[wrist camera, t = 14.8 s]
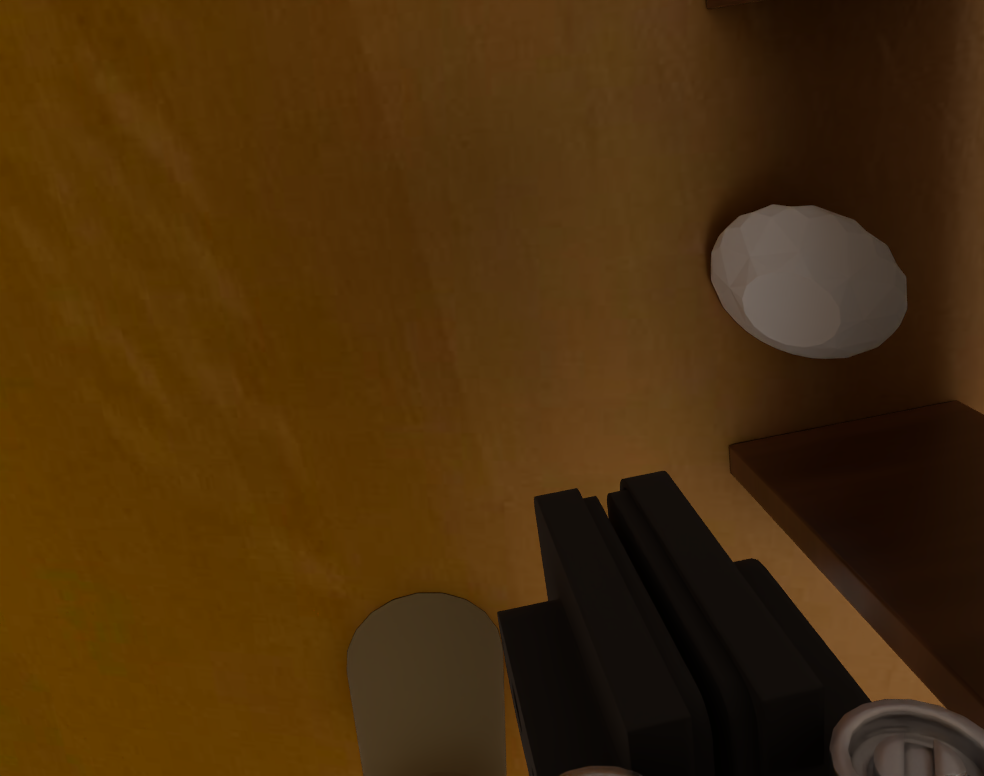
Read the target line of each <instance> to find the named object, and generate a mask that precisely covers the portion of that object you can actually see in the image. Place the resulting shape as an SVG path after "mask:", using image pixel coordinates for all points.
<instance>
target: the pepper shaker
mask: <svg viewBox="0 0 984 776" xmlns="http://www.w3.org/2000/svg"><path fill="white" fill-rule="evenodd" d="M347 675H348V681H349V688H350V694H351V700H352V706H353V713H354V719H355V725H356V732H357V738H358V744H359V750H360V757H361V763H362V769H363V775H364V776H506V744H505V707H504V671H503V647H502V643H501V640H500V636H499V633H498V629H497V628H496V626H495V625H494V624H493V622H492V621H491V620H490V618H489V617H488V616H487V614H486V613H485V612H484V611H482V610H481V609H479V608H478V607H476V606H475V605H473V604H472V603H470V602H469V601H467V600H465V599H462V598H458V597H455V596H451V595H447V594H444V593H417V594H413V595H409V596H406V597H402V598H399V599H395V600H392V601H391V602H389V603H387V604H386V605H384V606H382V607H381V608H379V609H377V610H376V611H374V612H372V613H371V614H370V615H369V616H368V618H367V619H366V620H365V621H364V622H363V623H362V624H361V625H360V626H359V628H358V629H357V630H356V632H355V634H354V636H353V639H352V641H351V643H350V646H349V648H348V651H347Z"/></svg>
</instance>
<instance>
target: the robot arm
mask: <svg viewBox="0 0 984 776" xmlns="http://www.w3.org/2000/svg"><path fill="white" fill-rule="evenodd" d="M534 506H535V514H536V520H537V527H538V534H539V541H540V548H541V554H542V561H543V568H544V575H545V582H546V589H547V595H548V601H547V602H542V603H537V604H533V605H528V606H523V607H518V608H514V609H509V610H504V611H499V612H497V614H498V622H499V628H500V634H501V639H502V645H503V651H504V656H505V662H506V667H507V673H508V678H509V683H510V688H511V693H512V698H513V703H514V708H515V713H516V718H517V723H518V727H519V732H520V736H521V741H522V745H523V749H524V754H525V758H526V762H527V767H528V771H529V776H984V729H982V728H981V727H979V726H978V725H976V724H975V723H973V722H972V721H971V720H969V719H968V718H966V717H964V716H962V715H960V714H957V713H955V712H953V711H950V710H948V709H946V708H943V707H941V706H938V705H934V704H929V703H925V702H920V701H916V700H909V699H884V700H879V701H874V702H871V701H870V699H869V698H868V697H867V695H866V694H865V693H864V692H863V690H862V689H861V688H860V687H859V685H858V684H857V683H856V682H855V680H854V679H853V678H852V676H851V675H850V674H849V673H848V671H847V670H846V669H845V668H844V666H843V665H842V664H841V663H840V661H839V660H838V659H837V657H836V656H835V655H834V654H833V652H832V651H831V650H830V649H829V647H828V646H827V645H826V644H825V642H824V641H823V640H822V638H821V637H820V636H819V635H818V633H817V632H816V631H815V630H814V628H813V627H812V626H811V625H810V623H809V622H808V621H807V620H806V618H805V617H804V616H803V614H802V613H801V612H800V611H799V609H798V608H797V607H796V606H795V604H794V603H793V602H792V601H791V599H790V598H789V597H788V595H787V594H786V593H785V592H784V590H783V589H782V588H781V587H780V585H779V584H778V583H777V582H776V580H775V579H774V578H773V576H772V575H771V574H770V573H769V571H768V570H767V569H766V568H765V567H764V566H763V565H762V564H761V563H760V562H759V561H758V560H756V559H752V558H751V559H746V560H741V561H737V562H732V560H731V559H730V558H729V556H728V555H727V553H726V552H725V551H724V549H723V548H722V547H721V545H720V544H719V543H718V541H717V540H716V538H715V537H714V536H713V534H712V533H711V532H710V530H709V529H708V528H707V526H706V525H705V523H704V522H703V521H702V519H701V518H700V517H699V515H698V514H697V513H696V511H695V510H694V508H693V507H692V506H691V504H690V503H689V502H688V500H687V499H686V498H685V496H684V495H683V493H682V492H681V491H680V489H679V488H678V487H677V485H676V484H675V483H674V481H673V480H672V478H671V477H670V476H669V474H668V473H667V472H666V471H660V472H655V473H650V474H645V475H640V476H635V477H630V478H625V479H622V480H621V482H620V491H618V492H613V493H608V495H607V507H608V516H609V519H608V517H607V515H606V513H605V511H604V509H603V507H602V505H601V504H600V502H599V500H598V498H597V497H596V496H593V497H588V498H582V496H581V494H580V492H579V490H578V489H577V488H575V489H570V490H565V491H560V492H555V493H550V494H545V495H540V496H535V497H534Z"/></svg>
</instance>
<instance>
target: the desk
mask: <svg viewBox="0 0 984 776" xmlns="http://www.w3.org/2000/svg"><path fill="white" fill-rule="evenodd" d="M757 1H763V0H706V6H707V9H713V8H719V7H725V6H732V5H738V4H744V3H751V2H757ZM729 449H730V469H731V474H732V475H733V476H734V477H735V478H736V479H737V480H738V481H739V482H740V484H741V485H742V486H743V487H744V488H745V489H746V490H747V491H748V492H749V493H750V494H751V496H752V497H753V498H754V499H755V500H756V501H757V502H758V503H759V504H760V505H761V506H762V508H763V509H764V510H765V511H766V512H767V513H768V514H769V515H770V516H771V517H772V518H773V520H774V521H775V522H776V523H777V524H778V525H779V526H780V527H781V528H782V529H783V530H784V532H785V533H786V534H787V535H788V536H789V537H790V538H791V539H792V540H793V541H794V542H795V544H796V545H797V546H798V547H799V548H800V549H801V550H802V551H803V552H804V553H805V554H806V556H807V557H808V558H809V559H810V560H811V561H812V562H813V563H814V564H815V565H816V566H817V568H818V569H819V570H820V571H821V572H822V573H823V574H824V575H825V576H826V577H827V578H828V580H829V581H830V582H831V583H832V584H833V585H834V586H835V587H836V588H837V589H838V590H839V592H840V593H841V594H842V595H843V596H844V597H845V598H846V599H847V600H848V601H849V602H850V604H851V605H852V606H853V607H854V608H855V609H856V610H857V611H858V612H859V613H860V614H861V616H862V617H863V618H864V619H865V620H866V621H867V622H868V623H869V624H870V625H871V626H872V628H873V629H874V630H875V631H876V632H877V633H878V634H879V635H880V636H881V637H882V638H883V640H884V641H885V642H886V643H887V644H888V645H889V646H890V647H891V648H892V649H893V650H894V652H895V653H896V654H897V655H898V656H899V657H900V658H901V659H902V660H903V661H904V662H905V664H906V665H907V666H908V667H909V668H910V669H911V670H912V671H913V672H914V673H915V674H916V676H917V677H918V678H919V679H920V680H921V681H922V682H923V683H924V684H925V685H926V686H927V688H928V689H929V690H930V691H931V692H932V693H933V694H934V695H935V696H936V697H937V698H938V700H939V701H940V702H941V703H942V704H943V705H944V706H945V707H946V708H947V709H948V710H950V711H953V712H955V713H957V714H960V715H962V716H964V717H966V718H968V719H969V720H971V721H972V722H973V723H975V724H976V725H978V726H979V727H981V728H982V729H984V415H983V414H982V413H980V412H978V411H976V410H974V409H972V408H970V407H969V406H967V405H965V404H963V403H961V402H959V401H952V402H947V403H942V404H937V405H932V406H927V407H922V408H916V409H911V410H906V411H901V412H896V413H891V414H886V415H881V416H876V417H871V418H866V419H861V420H856V421H851V422H846V423H841V424H835V425H830V426H825V427H820V428H815V429H810V430H805V431H800V432H795V433H790V434H785V435H780V436H775V437H770V438H765V439H759V440H754V441H749V442H744V443H739V444H734V445H730V447H729Z"/></svg>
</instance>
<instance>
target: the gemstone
mask: <svg viewBox="0 0 984 776" xmlns="http://www.w3.org/2000/svg"><path fill="white" fill-rule="evenodd" d="M711 281H712V284H713V286H714V288H715V290H716V292H717V295H718V297H719V299H720V301H721V303H722V306H723V308H724V309H725V310H726V311H727V312H728V313H729V314H730V316H731V317H732V318H733V319H734V320H735V321H736V322H737V323H738V324H739V325H740V326H741V327H742V328H743V329H745V330H746V331H747V332H748V333H750V334H751V335H753V336H754V337H756V338H757V339H759V340H760V341H762V342H764V343H766V344H768V345H770V346H772V347H774V348H777V349H779V350H782V351H785V352H788V353H791V354H794V355H799V356H804V357H809V358H821V359H831V358H848V357H851V356H854V355H857V354H859V353H862V352H865V351H868V350H871V349H874V348H876V347H879V346H880V345H881V344H882V343H883V342H884V341H885V340H887V339H888V338H889V337H890V336H891V335H892V334H893V333H894V332H895V331H896V330H897V328H898V327H899V326H900V324H901V322H902V320H903V317H904V315H905V313H906V311H907V286H906V276H905V275H904V273H903V272H902V271H901V269H900V268H899V267H898V265H897V264H896V262H895V259H894V257H893V255H892V253H891V251H890V249H889V247H888V245H886V244H885V243H883V242H882V241H880V240H879V239H877V238H876V237H874V236H873V235H871V234H870V233H868V232H867V231H866V230H865V229H864V228H863V227H862V226H861V225H860V224H858V223H857V222H856V221H855V220H854V219H851V218H848V217H845V216H842V215H839V214H836V213H834V212H831V211H828V210H825V209H823V208H820V207H817V206H814V205H810V206H793V207H790V206H782V205H775V204H772V205H770V206H767V207H765V208H762V209H760V210H757V211H755V212H752V213H748V214H744V215H741V216H739V217H738V218H737V219H736V220H734V221H733V222H732V223H731V224H730V225H729V226H728V227H727V228H726V229H725V230H724V231H723V232H722V233H721V234H720V235H719V237H718V239H717V241H716V243H715V245H714V248H713V250H712V252H711Z"/></svg>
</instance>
